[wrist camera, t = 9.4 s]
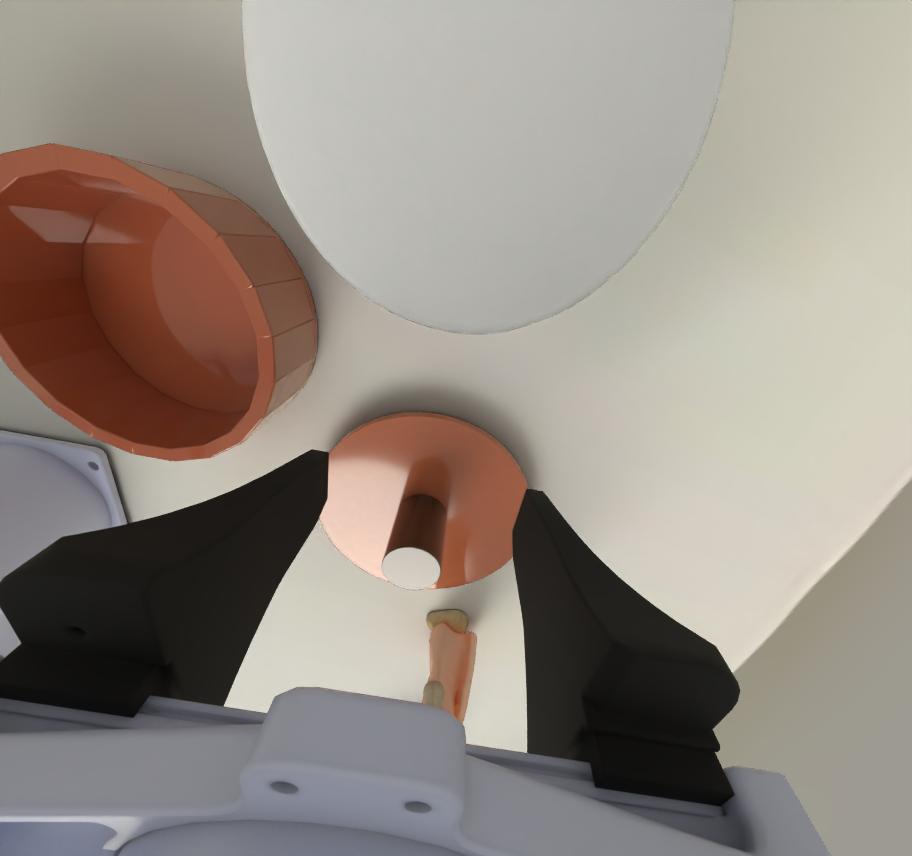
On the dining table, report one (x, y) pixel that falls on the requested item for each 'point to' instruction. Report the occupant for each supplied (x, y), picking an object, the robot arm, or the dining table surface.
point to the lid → (423, 500)
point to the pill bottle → (482, 141)
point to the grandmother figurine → (450, 662)
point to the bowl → (147, 303)
